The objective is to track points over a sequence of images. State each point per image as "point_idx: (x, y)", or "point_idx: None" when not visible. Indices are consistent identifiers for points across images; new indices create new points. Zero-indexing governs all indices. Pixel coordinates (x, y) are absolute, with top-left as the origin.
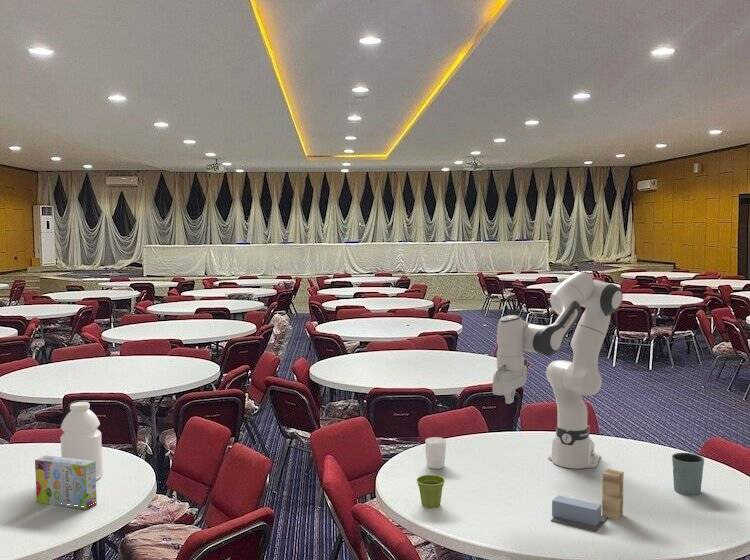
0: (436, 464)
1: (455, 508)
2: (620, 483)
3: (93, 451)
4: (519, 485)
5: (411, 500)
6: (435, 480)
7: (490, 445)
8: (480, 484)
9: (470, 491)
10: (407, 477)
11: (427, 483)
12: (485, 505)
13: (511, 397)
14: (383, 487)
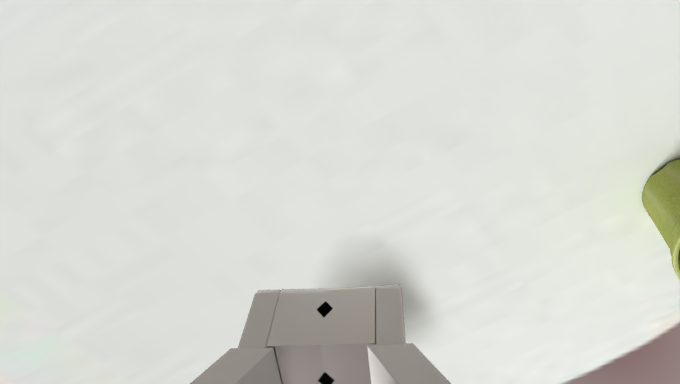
0: None
1: (673, 100)
2: None
3: None
4: (273, 19)
5: (662, 257)
6: (670, 243)
7: (3, 315)
8: (373, 154)
9: (466, 146)
10: (467, 359)
11: (678, 257)
12: (583, 17)
13: (286, 365)
14: (590, 367)
